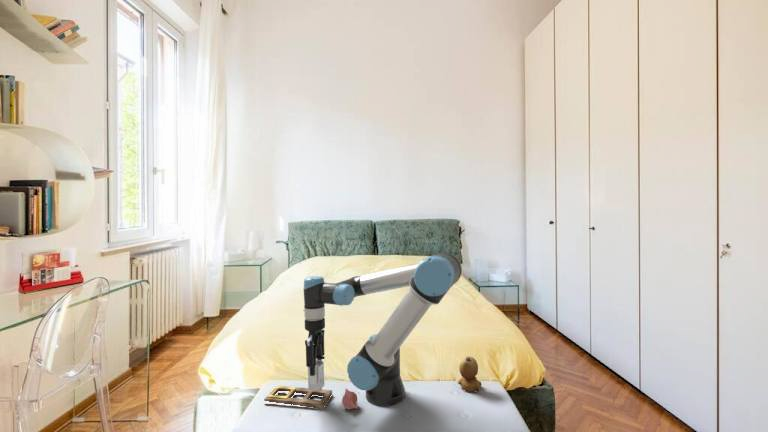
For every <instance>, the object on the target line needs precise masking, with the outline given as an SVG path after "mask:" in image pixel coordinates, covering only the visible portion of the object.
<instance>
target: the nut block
mask: <svg viewBox="0 0 768 432" xmlns="http://www.w3.org/2000/svg"><path fill="white" fill-rule="evenodd" d="M324 362H325V361H322V362H321V361H316V365H317V384H310V373H309V367H307V379H308V381H307V382H308V383H307V385H308V387H307V388H308V390H311V391H320V390H321V389H322V390H323V389H324V387H325V363H324Z"/></svg>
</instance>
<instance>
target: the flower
mask: <svg viewBox="0 0 768 432" xmlns="http://www.w3.org/2000/svg"><path fill="white" fill-rule="evenodd" d="M342 396H343V397H342V399H341V401H342V402H341V403H342V405H343V407H344V408H345V409H348V410H352V409H359V406H358V395H357V393H356V392H355V391H349V389H347V388H345V391H344V395H342Z"/></svg>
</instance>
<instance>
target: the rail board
mask: <svg viewBox="0 0 768 432" xmlns="http://www.w3.org/2000/svg"><path fill="white" fill-rule="evenodd" d="M278 391H289V393H288V394H287V395H286V394H285V395H275V394H276V393H277V392H278ZM295 392H296V393H302V394H306V395H305V396H303V397H302V398H296V397H294V398H291V397H292V396H293V395H294V393H295ZM312 395H318V396H323V398H321V399H309V398H310V397H311V396H312ZM331 395H332V396H333V390H332V389H323V388H322V389H321V390H320V391H311V390H308V387H307V388H306V387H295V386H284V385H283V386H282V385H277V386H276V387H275V388H273V390H272V391H270V392H269V393H268V395H266V396H265V398H264V400H263V402H264V401H269V402H276V403H284V404H291V405H292V404H293V405H300V406H306V407H313V408H318V409H317V410H324V408H325V407H326V406H327V404H328V402H329V401H330V399H331V398H330V396H331ZM332 396H331V397H332ZM329 398H330V399H329ZM328 400H329V401H328ZM327 401H328V402H327ZM326 403H327V404H326ZM324 406H325V407H324Z"/></svg>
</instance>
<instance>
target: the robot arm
mask: <svg viewBox="0 0 768 432" xmlns="http://www.w3.org/2000/svg"><path fill="white" fill-rule="evenodd" d="M462 270H463V268H462V264H461V262H460V260H459V259H458V258H457V256H455V255H454V254H452V253H449V252H439V253H436V254H434V255H430V256H428V257H426V258H423V259H422V260H421V261H420V262H418V263H412V264H409V265H404V266H400V267H396V268H395V267H394V268H390V269H386V270H381V271H377V272H373V273H368V274H364V275H359V276H358V275H355V276H351V278H348V279H345V280H342V281H339V282H334V283H333V282H331V283H330V282H325V277H324V276H319V275H314V276H308V277H305V278H304V280H303V301H304V302H303V303H304V305H303V307H304V308H303V312H304V329H305V331H308V335H307V336H308V337H307V340H306V339H305V340H304V345H305V365H306V368H308V367H309V373H310V384H317V365H316V361H321V362H323V360H325V357H326V356H325V327H326V318H325V316H326V314H325V313H326V312H325V310H326V309H325V306H326V304H327V305H335V306H349V305H351V304H352V303H353V302H354V300H355V298H356V297H361V296H366V295H370V294H371V295H372V294H376V293H380V292H386V291H391V290H397V289H402V288H408V287H409V289H408V291H407V293H406V294H405V295H404V296H403V298H402V299H401V301H400V302H399V303H398V305H397V306H396V307H395V309H394V311H393V312H392V313H391V315H390V316H389V317H388V318H387V320H386V322H385V323H384V324H383V326H382V327H381V328H380V330H379V331H378V333H376V334H372V335H370V336H369V338H368V340H367V341H366V342H365V343H364V345H363V346H362V347H361V349H360V350H359V352H358V353H357V354H356V355H355V356H353V357H351V359H350V360H349V362H348V364H347V366H346V367H347V369H346V370H347V371H346V372H347V374H348V375H347V376H348V379H349V380H350V382H351V383H352V385H353V386H354V387H355V388H357V389H359V390H362V391H365V398H366V400H367V401H368V402H369V403H371V404H373V405H376V406H381V407H388V406H389V407H390V406H394V405H397V404H400V403H402V401H404V400H405V397H406V388H405V386H404V385H405V384H404V382H403V380H402V377H401V349H400V348H401V346H402V345H403V343H405V341H406V339H407V338H408V337H409V335H410V334H412V332H413V330H414V329H415V327H416V326H417V325H418V324H419V322H420V320H421V319H422V318H423V317H424V316H425V314H427V311H428V310H429V309H430V307H432V305H433V306H434V305H438V304H440V302H441V301H442V299H444V297H445V296H446V295H447V293H448V292H449V290H450V289H451V288H452V287H453V286H454V285H455V284H457V282H459V280H460V278H461V276H462V273H463V271H462Z"/></svg>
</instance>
